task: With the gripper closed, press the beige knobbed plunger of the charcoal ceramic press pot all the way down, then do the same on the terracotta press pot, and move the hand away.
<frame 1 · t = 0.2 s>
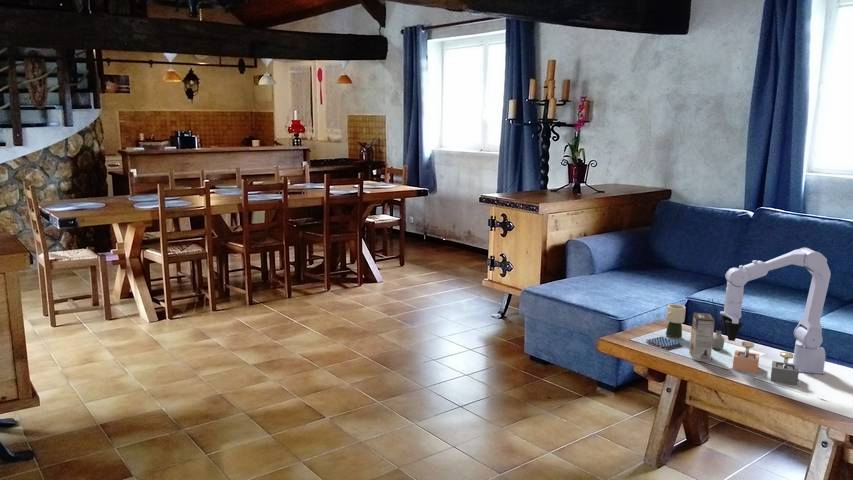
hand: (729, 337, 244), 10 cm above the table, tool pointing down, fingers open, 7 cm apart
woven mat: (663, 346, 265), on the table
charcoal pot: (783, 379, 231), on the table
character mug: (673, 337, 276), on the table
reed diffuser: (713, 349, 262), on the table
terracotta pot: (745, 367, 242), on the table
coffee box: (699, 357, 252), on the table
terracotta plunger: (745, 367, 242), resting on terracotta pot, slide at 0.0 cm
beige knobbed plunger: (783, 379, 231), resting on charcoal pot, slide at 0.0 cm
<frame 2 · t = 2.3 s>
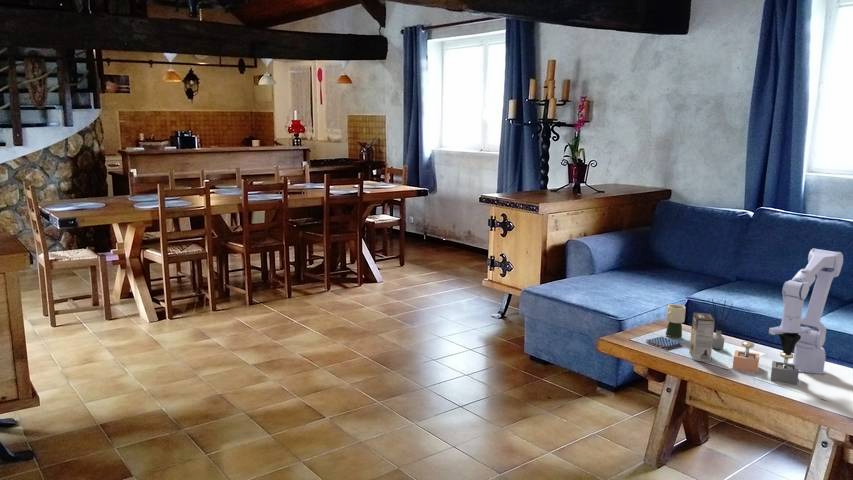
hand: (786, 353, 230), 9 cm above the table, tool pointing down, fingers closed, pressing on beige knobbed plunger
beige knobbed plunger: (783, 379, 231), resting on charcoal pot, slide at 0.0 cm, touching gripper
everything else where it was.
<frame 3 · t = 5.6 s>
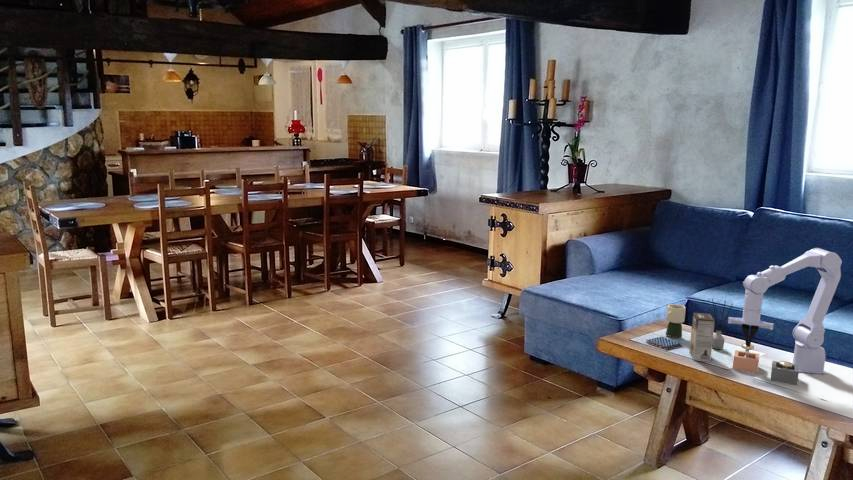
hand: (747, 345, 240), 8 cm above the table, tool pointing down, fingers closed, pressing on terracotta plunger
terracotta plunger: (745, 369, 242), resting on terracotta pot, slide at 0.8 cm, touching gripper
beige knobbed plunger: (782, 388, 232), resting on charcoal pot, slide at 3.3 cm
everything else where it was.
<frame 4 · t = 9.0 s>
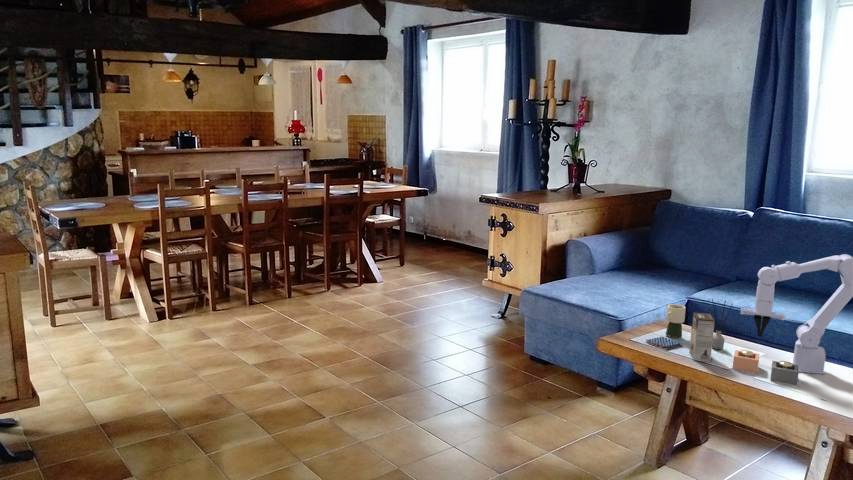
hand: (759, 335, 246), 10 cm above the table, tool pointing down, fingers closed
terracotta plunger: (744, 376, 242), resting on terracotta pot, slide at 3.3 cm
everything else where it was.
at the end: beige knobbed plunger slide at 3.3 cm; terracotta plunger slide at 3.3 cm; coffee box moved 0.2 cm from its start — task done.
